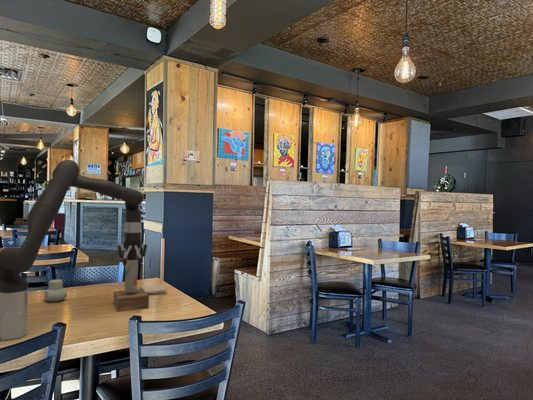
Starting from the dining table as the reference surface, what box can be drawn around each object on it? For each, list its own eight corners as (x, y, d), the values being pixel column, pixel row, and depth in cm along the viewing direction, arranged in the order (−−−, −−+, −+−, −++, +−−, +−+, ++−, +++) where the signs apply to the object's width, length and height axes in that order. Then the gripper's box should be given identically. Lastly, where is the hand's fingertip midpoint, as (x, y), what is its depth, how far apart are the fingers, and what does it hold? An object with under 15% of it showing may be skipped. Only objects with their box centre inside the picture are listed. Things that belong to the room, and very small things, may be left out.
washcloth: (145, 297, 198) (146, 291, 198) (138, 289, 214) (139, 284, 214) (167, 294, 204) (168, 289, 204) (159, 287, 220) (159, 282, 220)
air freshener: (43, 299, 186) (43, 279, 186) (61, 296, 192) (61, 277, 192) (49, 304, 179) (49, 283, 178) (67, 301, 184) (68, 281, 184)
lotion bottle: (138, 289, 183) (139, 249, 183) (134, 292, 177) (136, 251, 177) (126, 289, 183) (128, 249, 183) (122, 292, 177) (124, 251, 177)
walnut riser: (148, 308, 178) (148, 295, 178) (117, 311, 171) (117, 299, 171) (142, 300, 190) (142, 289, 190) (113, 303, 183) (113, 291, 183)
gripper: (118, 232, 173) (117, 268, 173) (149, 231, 180) (148, 266, 180) (116, 230, 180) (114, 265, 180) (146, 230, 187) (145, 263, 187)
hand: (131, 265), depth 180 cm, fingers closed on lotion bottle, 5 cm apart
